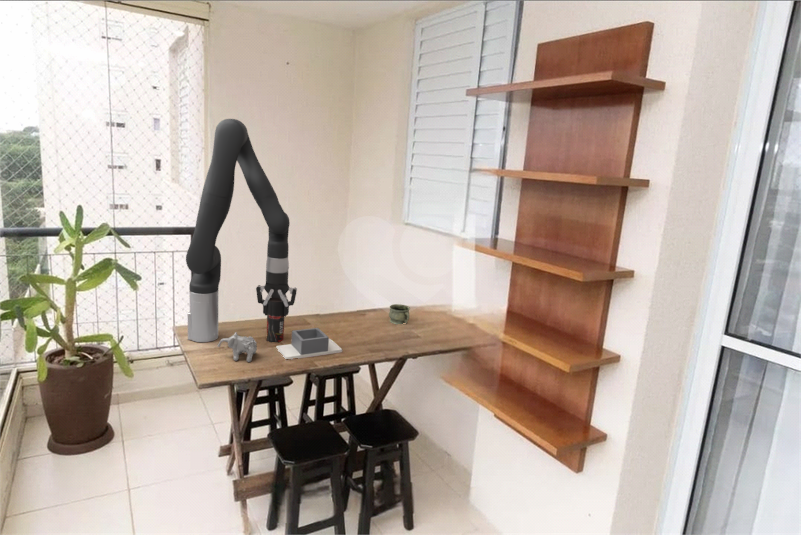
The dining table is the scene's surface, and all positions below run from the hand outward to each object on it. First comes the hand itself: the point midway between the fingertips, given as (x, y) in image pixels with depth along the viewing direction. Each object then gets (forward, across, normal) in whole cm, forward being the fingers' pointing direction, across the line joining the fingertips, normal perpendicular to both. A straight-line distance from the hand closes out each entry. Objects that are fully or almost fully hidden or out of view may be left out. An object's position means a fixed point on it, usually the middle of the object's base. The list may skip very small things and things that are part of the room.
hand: (275, 315), depth 177 cm
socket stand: (+9, +13, -8) cm, 18 cm away
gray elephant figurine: (+9, -9, -17) cm, 21 cm away
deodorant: (+9, 0, 0) cm, 9 cm away
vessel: (+9, +46, +27) cm, 54 cm away
